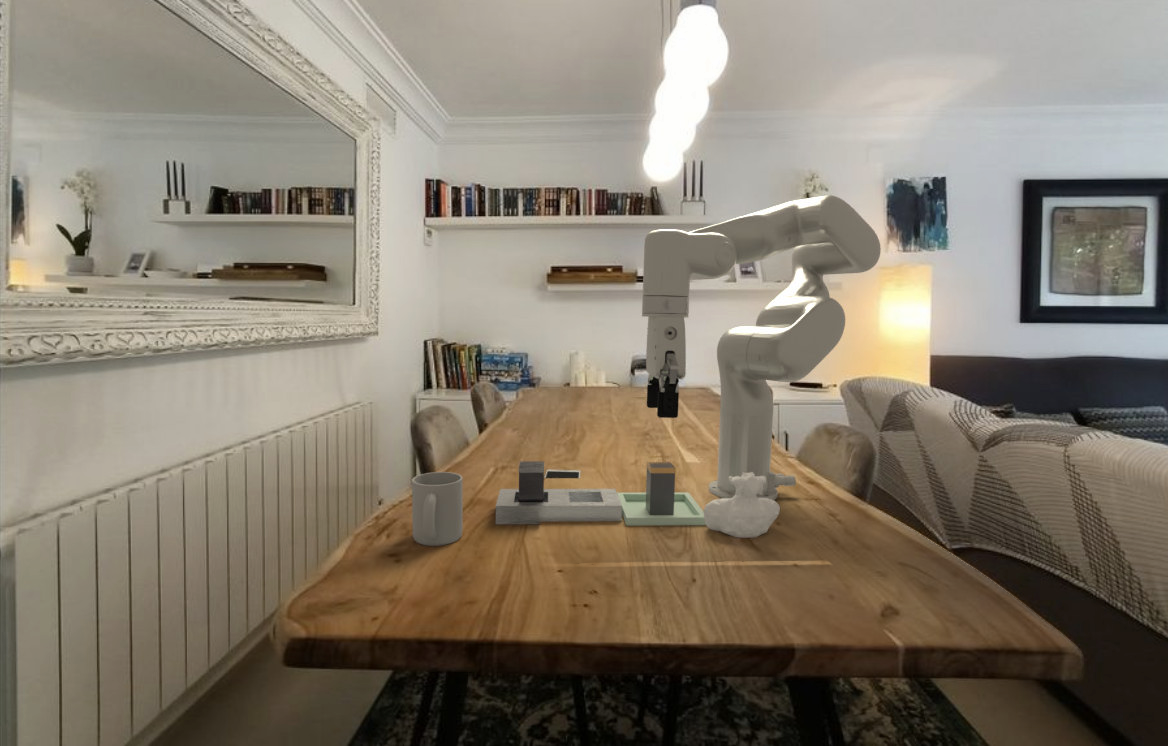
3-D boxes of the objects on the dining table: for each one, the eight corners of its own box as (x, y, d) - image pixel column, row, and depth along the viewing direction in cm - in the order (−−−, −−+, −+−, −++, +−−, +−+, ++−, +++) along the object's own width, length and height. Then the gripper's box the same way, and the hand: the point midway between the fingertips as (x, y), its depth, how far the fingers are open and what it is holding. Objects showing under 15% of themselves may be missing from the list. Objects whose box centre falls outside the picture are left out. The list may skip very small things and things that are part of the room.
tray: (688, 501, 106) (688, 492, 106) (707, 527, 94) (708, 517, 93) (616, 501, 106) (616, 492, 105) (626, 528, 93) (626, 517, 92)
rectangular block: (668, 507, 102) (670, 461, 101) (674, 515, 98) (675, 467, 97) (645, 507, 101) (646, 461, 101) (649, 515, 97) (650, 467, 97)
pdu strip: (614, 505, 104) (616, 458, 103) (621, 523, 95) (622, 471, 94) (500, 505, 102) (500, 457, 101) (495, 524, 93) (495, 471, 92)
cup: (466, 528, 91) (466, 472, 91) (454, 554, 82) (453, 491, 81) (419, 528, 91) (419, 471, 90) (401, 554, 81) (400, 491, 80)
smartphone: (539, 495, 110) (539, 490, 110) (546, 473, 125) (547, 468, 125) (578, 496, 110) (578, 491, 110) (580, 474, 125) (580, 469, 125)
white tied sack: (703, 550, 90) (721, 508, 82) (693, 508, 96) (709, 465, 88) (779, 548, 91) (803, 507, 84) (765, 506, 97) (786, 464, 89)
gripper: (701, 308, 88) (696, 422, 89) (676, 309, 105) (672, 404, 106) (651, 307, 87) (647, 421, 89) (634, 308, 104) (631, 404, 106)
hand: (661, 412), depth 98 cm, fingers open, 9 cm apart
